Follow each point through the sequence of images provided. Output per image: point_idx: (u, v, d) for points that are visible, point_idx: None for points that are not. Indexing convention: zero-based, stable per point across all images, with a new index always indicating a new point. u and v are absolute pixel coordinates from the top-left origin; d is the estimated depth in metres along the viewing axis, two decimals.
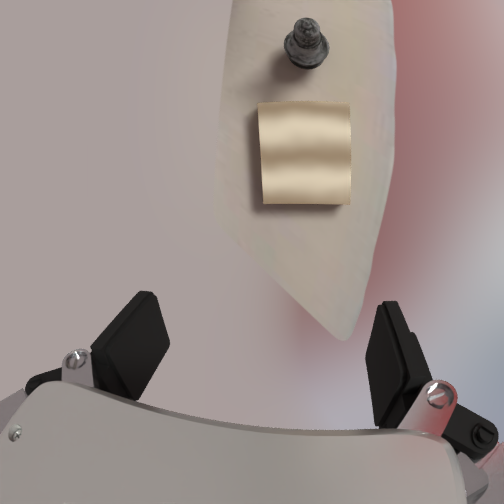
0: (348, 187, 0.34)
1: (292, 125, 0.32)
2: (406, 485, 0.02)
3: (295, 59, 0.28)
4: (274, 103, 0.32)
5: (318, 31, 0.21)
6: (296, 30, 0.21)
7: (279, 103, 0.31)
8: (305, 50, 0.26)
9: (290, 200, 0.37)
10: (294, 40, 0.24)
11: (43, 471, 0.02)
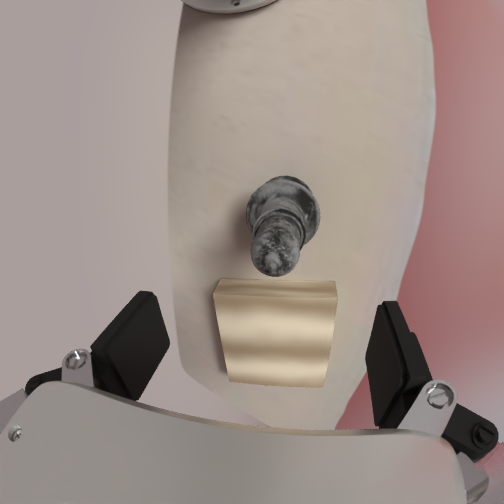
0: (322, 376, 0.29)
1: (258, 323, 0.27)
2: (406, 485, 0.02)
3: None
4: (235, 297, 0.26)
5: (295, 264, 0.15)
6: (254, 263, 0.16)
7: (241, 297, 0.26)
8: None
9: (257, 382, 0.32)
10: None
11: (43, 471, 0.02)
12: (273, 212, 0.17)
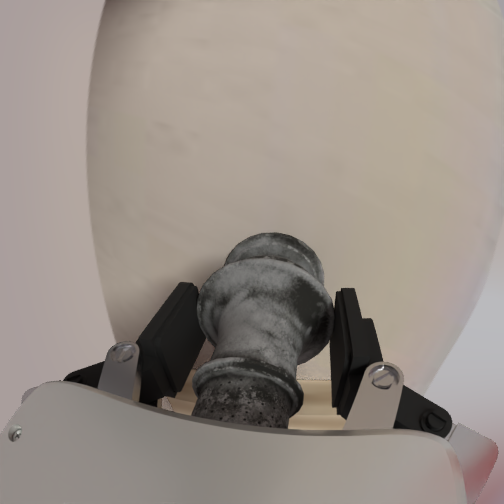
0: None
1: None
2: (406, 485, 0.02)
3: None
4: None
5: None
6: None
7: None
8: None
9: None
10: None
11: (43, 471, 0.02)
12: (231, 367, 0.07)
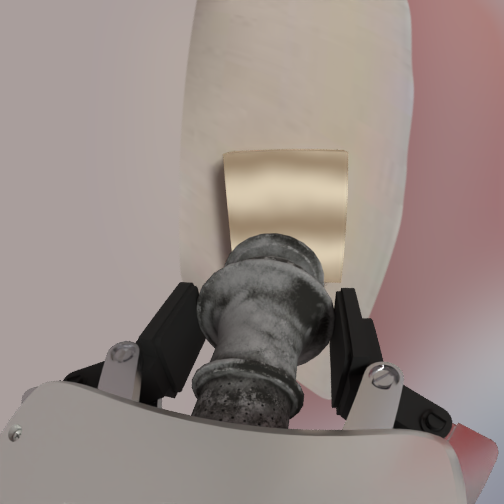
0: (340, 263, 0.28)
1: (269, 185, 0.26)
2: (406, 485, 0.02)
3: None
4: (245, 154, 0.25)
5: None
6: None
7: (252, 154, 0.25)
8: None
9: None
10: None
11: (43, 471, 0.02)
12: (231, 368, 0.07)
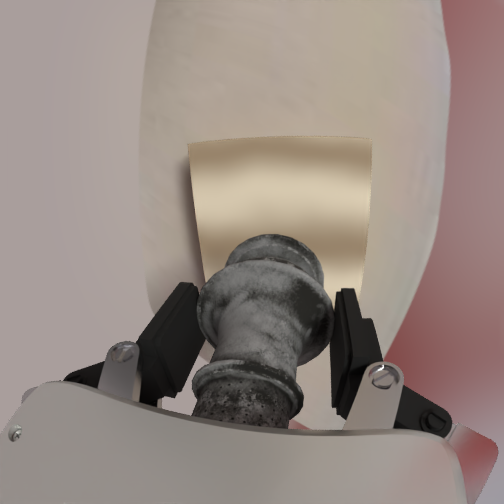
0: None
1: (254, 188, 0.18)
2: (406, 485, 0.02)
3: None
4: (219, 143, 0.17)
5: None
6: None
7: (229, 143, 0.17)
8: None
9: None
10: None
11: (43, 471, 0.02)
12: (230, 370, 0.07)
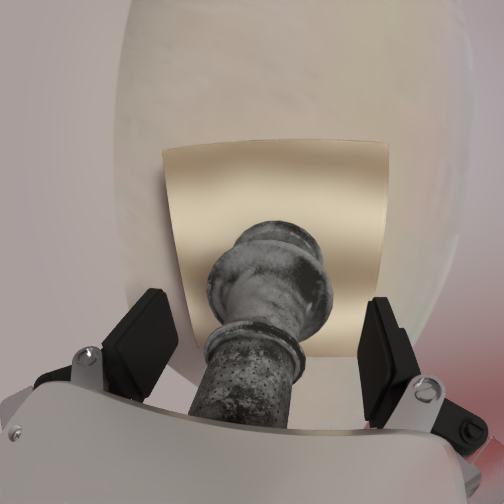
0: None
1: (243, 205, 0.14)
2: (406, 485, 0.02)
3: None
4: (199, 149, 0.14)
5: None
6: None
7: (211, 149, 0.13)
8: None
9: None
10: None
11: (43, 471, 0.02)
12: (241, 330, 0.08)
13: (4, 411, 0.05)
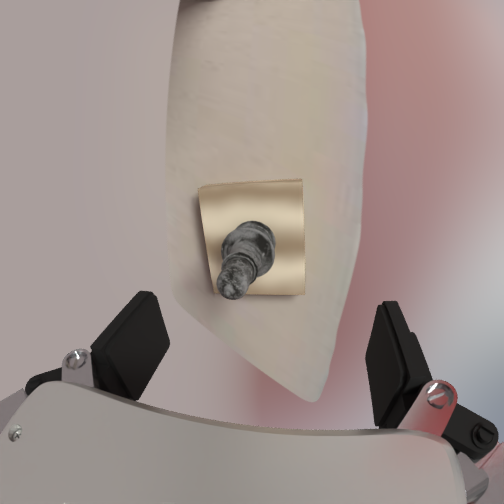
0: (302, 278, 0.33)
1: (236, 214, 0.32)
2: (406, 485, 0.02)
3: None
4: (215, 189, 0.31)
5: (245, 291, 0.23)
6: None
7: (221, 189, 0.31)
8: None
9: None
10: None
11: (43, 471, 0.02)
12: (234, 255, 0.25)
13: None
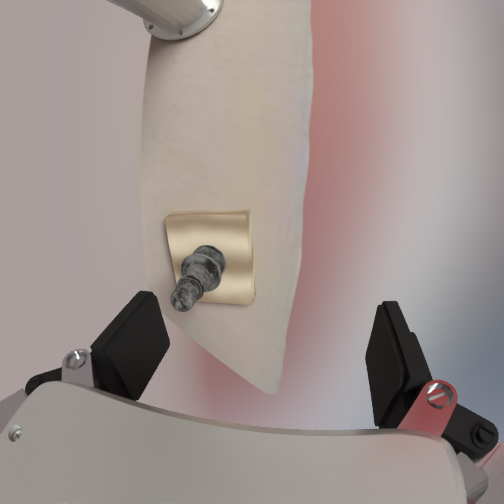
0: (249, 291, 0.41)
1: (194, 239, 0.39)
2: (406, 485, 0.02)
3: None
4: (178, 219, 0.38)
5: (190, 306, 0.30)
6: (172, 304, 0.31)
7: (182, 219, 0.38)
8: None
9: (201, 299, 0.43)
10: None
11: (43, 471, 0.02)
12: (185, 277, 0.32)
13: None
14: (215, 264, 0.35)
